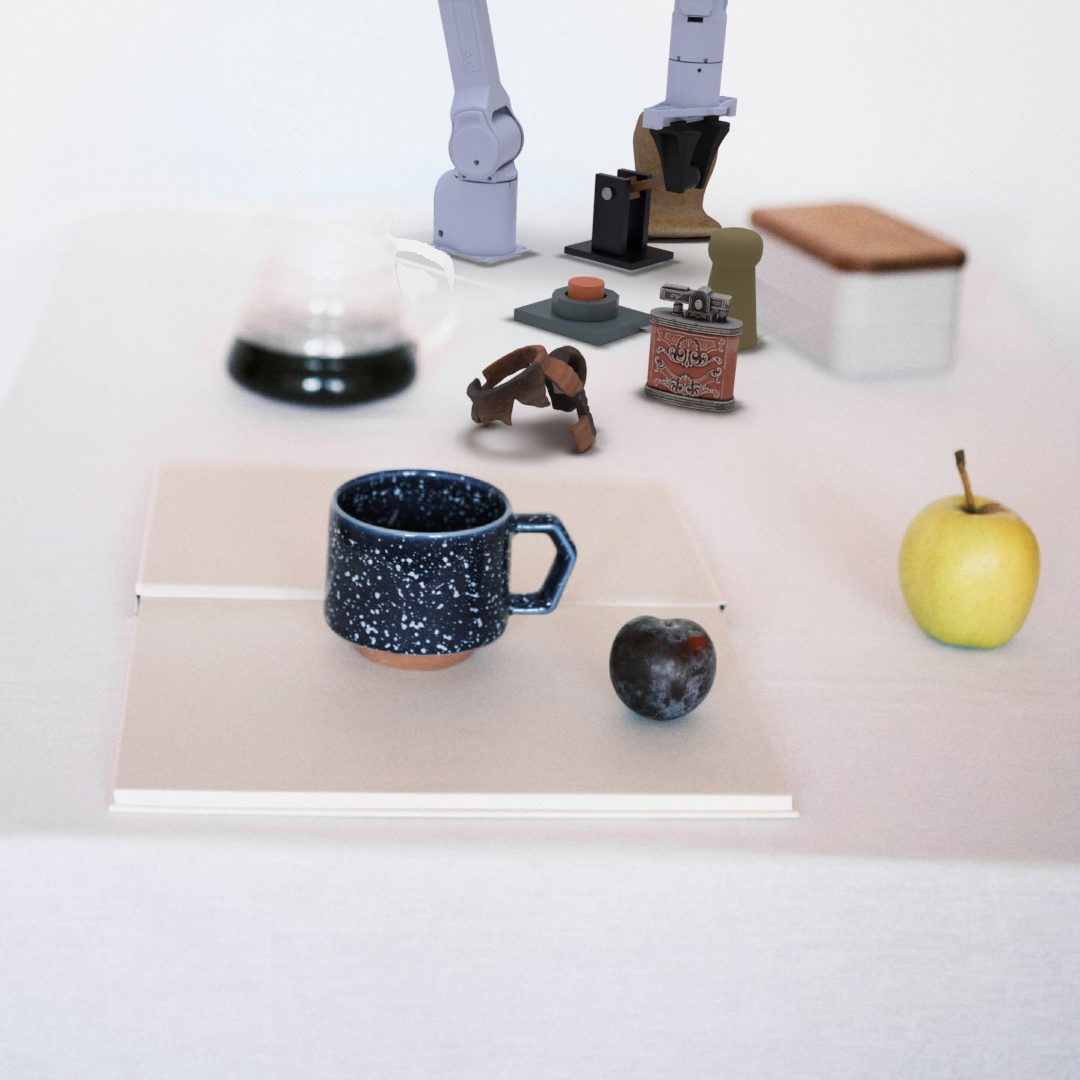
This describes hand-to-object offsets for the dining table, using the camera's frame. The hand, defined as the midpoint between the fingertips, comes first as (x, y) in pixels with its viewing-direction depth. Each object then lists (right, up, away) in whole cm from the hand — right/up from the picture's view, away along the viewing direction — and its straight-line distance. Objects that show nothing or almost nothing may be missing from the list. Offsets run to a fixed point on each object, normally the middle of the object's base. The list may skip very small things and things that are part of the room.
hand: (684, 189), depth 151 cm
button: (-11, -15, -15) cm, 23 cm away
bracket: (-7, -6, +9) cm, 13 cm away
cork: (+2, -19, -17) cm, 26 cm away
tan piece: (-1, -1, +20) cm, 20 cm away
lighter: (-3, -27, -32) cm, 41 cm away
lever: (-3, 0, +3) cm, 4 cm away
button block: (-11, -17, -13) cm, 24 cm away
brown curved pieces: (-16, -30, -40) cm, 52 cm away
